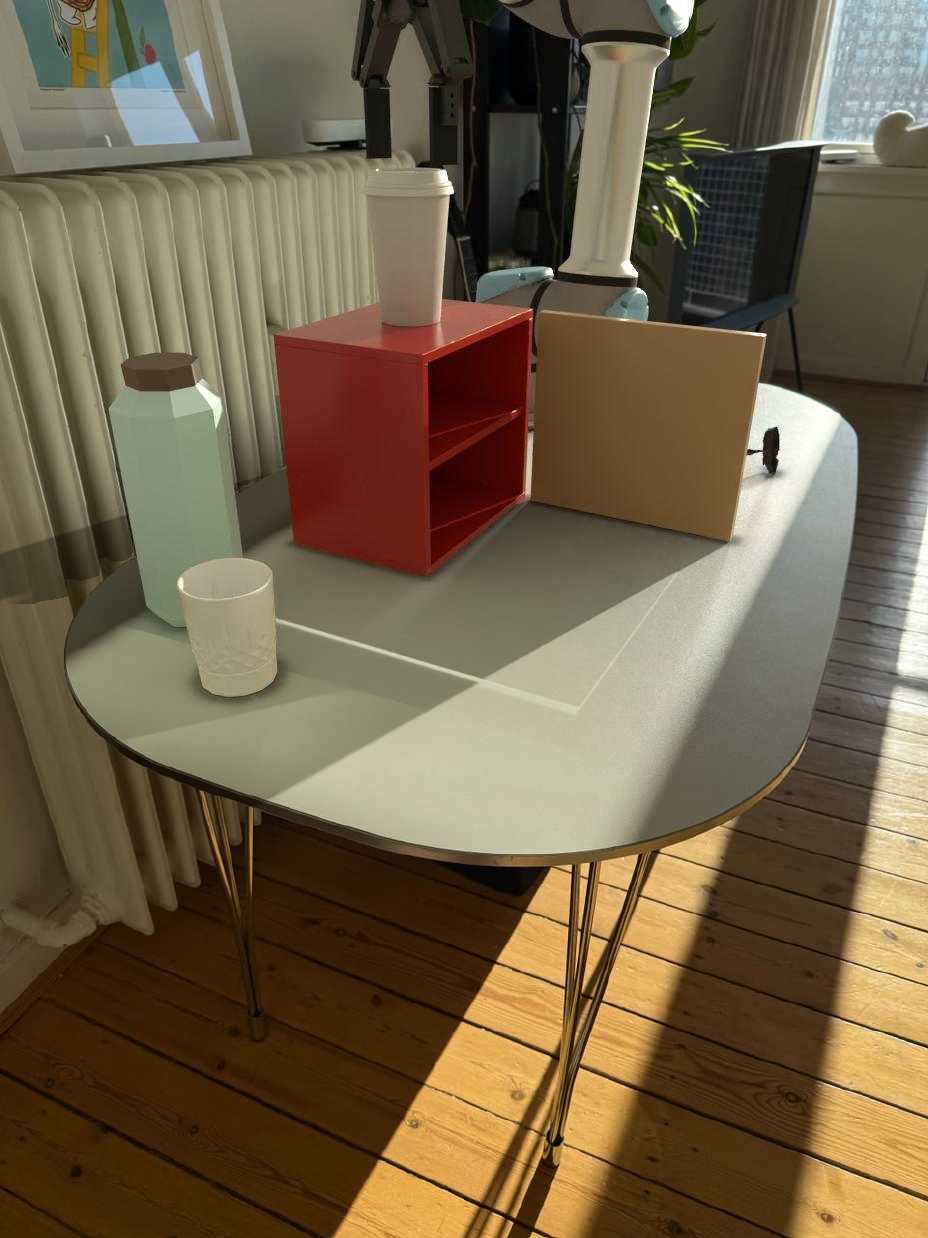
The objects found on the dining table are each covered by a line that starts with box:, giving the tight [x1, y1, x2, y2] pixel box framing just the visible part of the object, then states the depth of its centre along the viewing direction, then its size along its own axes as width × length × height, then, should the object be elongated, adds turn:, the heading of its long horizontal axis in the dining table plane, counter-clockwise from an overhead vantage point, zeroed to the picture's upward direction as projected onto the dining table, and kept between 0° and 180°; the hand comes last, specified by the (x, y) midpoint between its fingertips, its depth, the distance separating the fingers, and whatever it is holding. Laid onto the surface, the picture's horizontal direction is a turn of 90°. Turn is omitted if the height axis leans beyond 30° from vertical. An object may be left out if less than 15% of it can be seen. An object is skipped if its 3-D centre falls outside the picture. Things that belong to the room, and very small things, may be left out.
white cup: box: [177, 557, 278, 698], centre depth 78 cm, size 8×8×10 cm
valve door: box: [529, 310, 768, 542], centre depth 109 cm, size 8×26×24 cm, turn 61°
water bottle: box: [108, 352, 244, 628], centre depth 86 cm, size 10×10×25 cm
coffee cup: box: [361, 167, 455, 327], centre depth 96 cm, size 10×10×15 cm
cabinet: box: [272, 298, 533, 578], centre depth 106 cm, size 18×26×24 cm
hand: (409, 161), depth 92 cm, fingers open, 13 cm apart
